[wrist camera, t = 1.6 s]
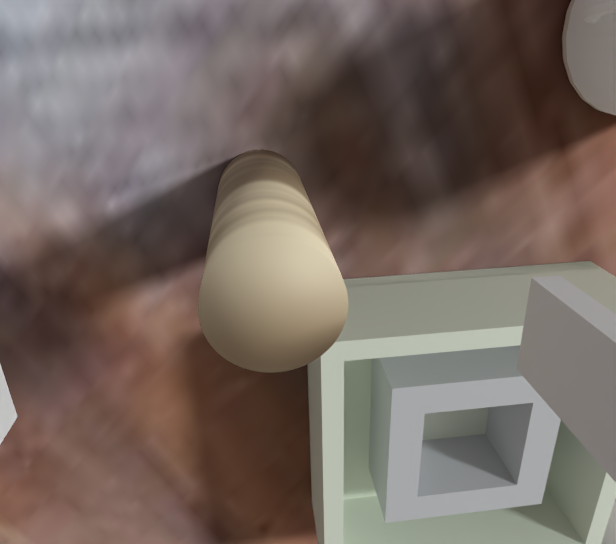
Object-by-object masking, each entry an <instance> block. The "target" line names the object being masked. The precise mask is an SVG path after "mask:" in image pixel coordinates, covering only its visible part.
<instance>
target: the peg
mask: <svg viewBox="0 0 616 544" xmlns="http://www.w3.org/2000/svg"><path fill="white" fill-rule="evenodd" d="M347 314H348V294H347V289H346V286H345V283H344V281H343V278H342V276H341V273H340V271H339V269H338V266H337V264H336V262H335V259H334V257H333V255H332V252H331V250H330V248H329V245H328V243H327V241H326V238H325V236H324V233H323V231H322V229H321V226H320V224H319V222H318V219H317V217H316V215H315V212H314V210H313V208H312V205H311V203H310V201H309V198H308V196H307V194H306V191H305V189H304V187H303V184H302V182H301V180H300V177H299V175H298V173H297V171H296V169H295V168H294V166H293V165H292V164H291V163H290V162H289V161H288V160H287V159H286V158H284V157H283V156H281V155H279V154H277V153H275V152H272V151H268V150H252V151H248V152H245V153H242V154H240V155H239V156H237V157H235V158H234V159H233V160H232V161H231V162H230V163H229V164H228V165H227V166H226V168H225V169H224V171H223V173H222V175H221V178H220V181H219V186H218V192H217V198H216V203H215V209H214V214H213V220H212V226H211V231H210V237H209V243H208V248H207V254H206V260H205V265H204V271H203V276H202V282H201V288H200V293H199V300H198V317H199V322H200V326H201V329H202V331H203V334H204V335H205V337H206V339H207V341H208V342H209V343H210V345H211V346H212V348H213V349H214V350H215V351H216V352H217V353H218V354H220V355H221V356H222V357H223V358H225V359H226V360H228V361H229V362H231V363H233V364H235V365H237V366H239V367H242V368H245V369H248V370H252V371H257V372H267V373H274V372H284V371H289V370H293V369H297V368H299V367H302V366H305V365H307V364H309V363H311V362H313V361H314V360H316V359H317V358H319V357H320V356H322V355H323V354H324V353H325V352H326V351H327V350H328V349H329V348H330V347H331V346H332V345H333V344H334V343H335V341H336V340H337V338H338V337H339V335H340V333H341V332H342V330H343V327H344V325H345V322H346V318H347Z"/></svg>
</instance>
